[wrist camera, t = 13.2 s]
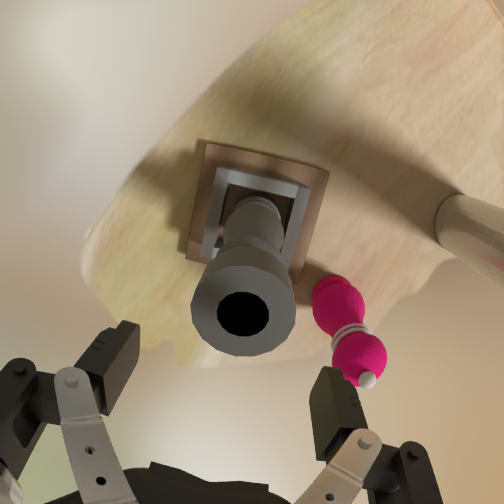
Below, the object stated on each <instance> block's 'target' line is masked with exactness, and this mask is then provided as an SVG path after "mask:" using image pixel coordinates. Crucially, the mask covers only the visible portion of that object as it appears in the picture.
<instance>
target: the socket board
mask: <svg viewBox="0 0 504 504" xmlns="http://www.w3.org/2000/svg"><path fill="white" fill-rule="evenodd" d="M329 173H330V172H328V171H325V170H321V169H317V168H314V167H310V166H307V165H303V164H299V163H295V162H291V161H287V160H283V159H279V158H275V157H271V156H267V155H263V154H258V153H254V152H249V151H245V150H240V149H235V148H231V147H226V146H221V145H216V144H210V143H207V146H206V150H205V155H204V160H203V164H202V169H201V174H200V179H199V184H198V189H197V194H196V200H195V205H194V210H193V216H192V221H191V227H190V233H189V239H188V245H187V251H186V257H185V259H188V260H192V261H196V262H201V263H205V264H209V263H210V262H211V261H212V260H213V259H214V258H215V257H216V254H217V252H218V250H219V249H220V248H221V247H222V246H223V245H224V239H223V229H224V227H225V224H226V222H227V219H228V218H229V217H230V215H231V213H232V210H233V207H234V206H235V204H236V202H237V201H238V200H239V199H240V198H241V197H242V196H244V195H247V194H249V193H263V194H265V195H268V196H270V197H271V198H272V199H273V200H274V201H275V202H276V204H277V206H278V208H279V211H280V214H281V224H282V226H283V229H284V242H283V245H282V247H281V249H280V253H281V256H282V258H283V260H284V263H285V267H286V269H287V272H288V274H289V277H290V279H291V281H292V283H293V284H298V281H299V278H300V275H301V271H302V268H303V265H304V262H305V258H306V255H307V252H308V248H309V245H310V241H311V238H312V235H313V231H314V228H315V224H316V221H317V217H318V214H319V210H320V206H321V203H322V199H323V195H324V192H325V188H326V184H327V181H328V177H329Z"/></svg>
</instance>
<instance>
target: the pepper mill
mask: <svg viewBox="0 0 504 504" xmlns="http://www.w3.org/2000/svg"><path fill="white" fill-rule="evenodd" d="M312 299H313V316H314V319H315V321H316V323H317V325H318V326H319V327H320V328H321V329H322V330H323V331H324V332H326V333H327V334H329V335H330V336H331V337H332V338H333V339H332V343H331V347H332V350H333V356H332V366H333V367H336V368H341V370H342V373H343V376H344V380H349V381H350V382H351V383H352V384H353V385H354V386H357V387H359V386H361V387H363V388H365V389H368V388H371V387H372V386H373V385H374V384H375V382H376V380H377V379H378V378H379V377H380V375H381V374H382V373H383V371H384V369H385V366H386V363H387V353H386V349H385V347H384V345H383V343H382V342H381V341H380V340H379V339H378V338H377V337H376V336H374V335H373V334H372V331H371V330H370V328H369V327H367V326H366V325H364V324H363V318H364V313H365V305H364V301H363V298H362V296H361V294H360V292H359V291H358V290H357V289H356V288H355V287H353V286H351V284H350V282H349V281H348V280H347V279H345V278H343V277H341V276H329V277H326V278H324V279H322V280H321V281H320V282H319V283H318V284H317V285H316V286H315V288H314V290H313V295H312Z"/></svg>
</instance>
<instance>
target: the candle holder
mask: <svg viewBox="0 0 504 504" xmlns="http://www.w3.org/2000/svg"><path fill="white" fill-rule="evenodd" d="M223 239H224V245H223V246H222V247H221V248H220V249H219V250H218V252H217V254H216V257H215V258H214V259H213V260H212V261H211V262H210V263H209V264H208V265H207V267H206V269H205V271H204V273H203V275H202V277H201V279H200V281H199V283H198V285H197V288H196V290H195V293H194V296H193V299H192V302H191V305H190V306H191V314H192V322H193V324H194V326H195V328H196V329H197V331H198V333H199V334H200V336H201V338H202V339H204V340H205V341H206V342H207V343H209V344H210V345H211V346H212V347H214V348H215V349H216V350H219V351H222V352H225V353H227V354H230V355H233V356H257V355H260V354H263V353H266V352H269V351H272V350H274V349H275V348H276V347H277V346H279V345H280V344H281V343H283V342H284V341H285V340H286V339H287V338H288V336H289V334H290V332H291V330H292V329H293V327H294V325H295V316H296V303H295V297H294V292H293V287H292V281H291V279H290V277H289V274H288V272H287V269H286V267H285V263H284V260H283V258H282V256H281V253H280V249H281V247H282V245H283V242H284V229H283V226H282V224H281V214H280V211H279V208H278V206H277V204H276V202H275V201H274V200H273V199H272V198H271V197H270V196H268V195H265V194H263V193H249V194H247V195H244V196H242V197H241V198H240V199H239V200H238V201H237V202H236V204H235V206H234V207H233V210H232V213H231V215H230V217H229V218H228V219H227V222H226V224H225V227H224V229H223Z"/></svg>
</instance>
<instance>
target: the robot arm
mask: <svg viewBox="0 0 504 504" xmlns="http://www.w3.org/2000/svg"><path fill="white" fill-rule="evenodd" d="M435 234H436V237H437V240H438V241H439V243H440V244H441V246H442V247H443V248H445V249H446V250H448V251H449V252H451V253H452V254H454V255H455V256H457V257H458V258H460V259H461V260H463V261H464V262H466V263H467V264H468V265H470V266H471V267H473V268H474V269H476V270H477V271H478V272H480V273H481V274H483V275H484V276H485V277H487V278H488V279H490V280H491V281H492V282H494V283H495V284H496V285H498V286H499V287H501V288H502V289H503V290H504V209H503V208H500V207H498V206H495V205H492V204H489V203H486V202H483V201H480V200H478V199H475V198H472V197H469V196H465V195H461V194H457V195H453V196H450V197H449V198H447V199H446V200H445V201H444V202H443V203H442V205H441V206H440V208H439V210H438V213H437V215H436V220H435ZM139 350H140V325H139V324H135V323H132V322H129V321H125V320H123V321H121V323H120V324H119V325H118V327H117V328H116V329H113V328H108V329H106V330H104V331H102V332H100V333H99V335H98V336H97V337H96V338H95V341H93V342H92V343H91V345H90V347H88V348H87V350H86V351H85V352H84V354H83V355H82V356H81V357H80V359H79V360H78V361H77V362H76V364H75V365H74V366H73V367H66V368H63V369H61V370H59V371H58V372H57V373H56V374H51V373H45V372H40V371H36V367H35V365H34V363H33V362H32V361H30V360H28V359H25V358H16V359H13V360H11V361H9V362H8V363H7V364H6V366H5V367H4V368H3V369H2V370H1V371H0V504H22V499H23V491H22V488H21V486H20V484H19V483H18V482H17V481H18V479H19V477H20V475H21V472H22V470H23V468H24V466H25V464H26V463H27V460H28V459H29V457H30V455H31V453H32V451H33V449H34V447H35V445H36V443H37V441H38V440H39V438H40V436H41V434H42V432H43V431H44V428H45V427H46V425H47V423H50V424H56V425H61V429H62V433H63V438H64V442H65V445H66V449H67V453H68V457H69V461H70V464H71V467H72V471H73V474H74V477H75V480H76V483H77V486H78V489H79V490H77V491H75V492H73V493H71V494H68V495H65V496H63V497H60V498H58V499H56V500H53V501H50V502H48V503H45V504H291V503H290V502H288V501H287V500H285V499H283V498H282V497H280V496H278V495H276V494H274V493H271V492H268V488H269V486H268V484H260V483H251V482H244V481H229V482H208V481H205V480H203V479H200V478H198V477H196V476H193V475H191V474H189V473H187V472H185V471H183V470H181V469H177V468H174V467H170V466H166V465H162V464H159V463H155V462H151V464H150V467H149V468H130V469H126V470H122V468H121V466H120V463H119V461H118V459H117V456H116V454H115V451H114V449H113V446H112V443H111V441H110V438H109V436H108V433H107V430H106V427H105V424H104V421H103V419H102V417H100V414H103V415H106V416H109V415H110V413H111V410H112V409H113V407H114V405H115V403H116V401H117V399H118V397H119V396H120V394H121V392H122V390H123V388H124V386H125V384H126V383H127V381H128V379H129V377H130V375H131V374H132V372H133V370H134V368H135V366H136V364H137V362H138V358H139ZM358 398H359V397H358V393H357V390H356V388H355V387H354V385H353V384H352V383H351V382H350V381H349V380H344V376H343V373H342V370H341V368H336V367H328V366H324V367H323V368H322V369H321V372H320V373H319V376H318V378H317V380H316V382H315V384H314V386H313V388H312V390H311V393H310V398H309V405H310V412H311V420H312V428H313V435H314V443H315V451H316V460H317V461H326V467H325V468H324V469H323V471H322V472H321V473H320V474H319V476H318V477H317V478H316V479H315V480H314V481H313V483H312V484H311V485H310V486H309V487H308V488H307V490H306V491H305V492H304V493H303V494H302V495H301V497H299V498H298V500H297V501H296V502H295V503H294V504H351V503H352V502H353V501H354V499H355V497H356V496H357V494H358V493H359V491H360V490H361V488H363V489H367V493H368V500H369V504H443V501H442V498H441V495H440V491H439V488H438V484H437V481H436V478H435V475H434V472H433V468H432V465H431V463H430V459H429V457H428V454H427V451H426V449H425V448H424V447H423V446H422V445H420V444H419V443H417V442H413V441H408V442H405V443H403V444H402V445H401V447H400V448H397V447H393V446H389V445H385V444H382V442H381V439H380V438H379V436H378V435H377V434H376V433H374V432H373V431H371V430H369V429H368V426H367V422H366V419H365V416H364V413H363V409H362V406H361V403H360V400H359V399H358Z"/></svg>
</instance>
